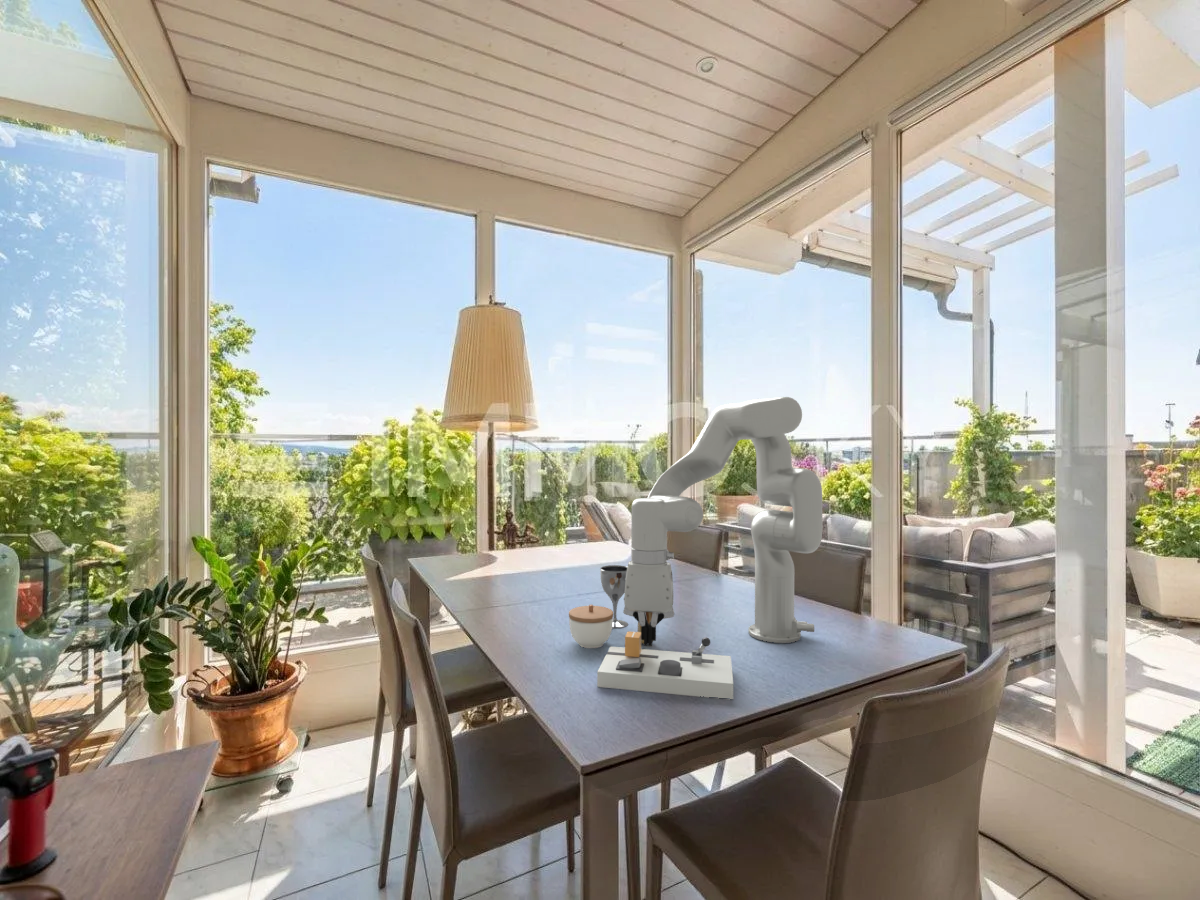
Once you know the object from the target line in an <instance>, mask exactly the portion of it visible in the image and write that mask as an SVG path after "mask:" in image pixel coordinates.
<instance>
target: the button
mask: <svg viewBox="0 0 1200 900" xmlns="http://www.w3.org/2000/svg"><path fill="white" fill-rule="evenodd" d="M660 675H670V676H680V663H679V662H678V661H675V660H663V661H661V662H660Z"/></svg>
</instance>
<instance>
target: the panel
mask: <svg viewBox="0 0 1200 900" xmlns="http://www.w3.org/2000/svg"><path fill="white" fill-rule="evenodd" d="M697 651H698V649H697V650H695V649H692V651H691V652H685V651H684V652H681V651H668V650H659V649H658V650H657V649H644V648H641V653H640V656H639V657H632V656H625V647H621V646H619V647H618V646H609V648H608V650H607V652H606V655H605V656H604V658H603V660H602V662H601V663H600V666H599V668H598V670H597V672H596V673H597V675H596V676H597V677H596V679H597V682H596V683H597V688H606V689H616V690H626V691H637V692H649V693H659V694H668V695H676V696H677V695H678V696H687V697H688V696H690V697H698V698H699V697H700V696H701V697H700V698H709V697H718V698H717V699H719V698H730V699H733V700H734V678H733V677H734V675H733V667H732V666H733V665H732V656H731V655H719V654H708V653H702V654H701V656H695V654H696V652H697ZM663 660H675V661H678V662H679V663H680V676H670V675H660V662H661V661H663ZM703 696H704V697H703ZM730 699H729V700H730Z"/></svg>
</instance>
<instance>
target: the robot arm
mask: <svg viewBox="0 0 1200 900" xmlns="http://www.w3.org/2000/svg"><path fill="white" fill-rule="evenodd" d="M802 410H803V409H802V406H801V405H800V404H799V402H798V401H797V400H796V399H795V398H793V397H789V396H779V397H770V398H757V399H750V400H746V401H743V402H736V403H726V404H723V405H720V406H717V407H716V408H714V410H713V411H712V412H711V414H710V416H709V417H708V418H707V420H706V422H705V424H704V426H703V428H702V429H701V431H700V433H699V434H698V436H697V438H696V439H695V442H694V443H693V445H692V446H691V448H690V450H689V451H688V452H687V453H686V454H685V455H684V456H683V457H681V458H680V459H678V460H677V461H676V462H675V463H674V464H672V465H671V466H670V467H669V468H668V469H666V470H665V471H664V472H663V473H662V474H661V475H660V476H659V477H658V479H657V480H656V482H655V483H654V485H653V486H652V489H651V490H650V491H649V494H648V496H647V497H642V498H641V497H640V498H635V499H634V500H633V502H632V503H631V526H630V527H631V534H630V536H631V538H630V539H631V548H630V549H631V554H630V555H631V556H630V557H631V558H630V559H631V560H629V561H628V563H627V573H626V581H625V593H624V597H623V602H624V607H623V612H622V613H623V614H624V615H627V616H629V617H633V618H634V619H635V620H636V621H637V623H638V622H639V623H640V625H641V640H644V644H643V645H644V646H649V647H652V645H653V643H654V642H655V641H656V640H657V625H658V624H660V622H661V621H662V620H665V619H670V618H674V617H675V610H674V579H673V570H672V565H671V562H668V561H669V560H672V559H675V557H674V555H675V552H674V551H673V552H671V551H669V549H668V546H667V545H668V532H678V533H679V532H680V533H687V532H692V531H693V530H695V529H697V528H698V527H699V526H700V525H701V523H702V521H703V519H704V509H703V507H702V506H701V504H700V503H699V501H697V500H695V499H693V498H691V497H688V496H681V495H682V494H683V492H684V491H686V490H687V489H688V488H690V487H691V486H693V485H695V484H697V483H699V482H702V481H704V480H707V479H710V478H711V477H715V476H716V475H718V474H719V473H721V472H722V471H723V469H724V468H725V466H726V464H727V462H728V460H729V458H730V456H731V455H732V453H733V451H734V449H735V447H736V446H737V445H738V442H739V441H740V440H751V442H752V444H753V447H754V449H755V456H756V457H755V459H756V460H755V461H756V462H755V463H756V492H757V496H758V498H759V500H760V501H761V502H762V503H764V504H767V505H772V506H779V507H781V506H782V507H789V508H792V509H791V510H792V511H787V510H778V509H777V510H776V509H767V510H766V509H764V510H762V511H759V512H758V513H757V514H755V515H754V517H753V518H752V520H751V522H750V523H751V524H750V534H751V538H752V543H753V549H754V550H753V552H754V623H753V624H751V625H749V627H748V634H749V635H750V636H751V637H753V638H754V639H756V640H759V641H762V640H763V642H766V641H767V642H766V643H772V642H774V643H775V644H790V643H791V642H792V643H795V641H796V642H798V641H799V639H800V640H801V635H802V634H801V633H802V632H810V633H814V632H815V624H814V623H808V621H798V619H796V617H795V564H794V560H793V557H792V556H791V554H790V553H791V552H792V553H800V554H812V553H814V552H816V551H817V550H818V549H819V547H820V545H821V542H822V539H823V488H822V483H821V481H820V478H819V477H818V475H817V474H816V472H814V471H812V470H811V469H808V468H801V467H797V468H796V467H793V461H792V448H791V445H790V442H789V439H788V437H786V434H789V433H792V432H794V431H795V430H796V429H798V427H799V426H800V424H801V422H802V418H803V411H802ZM646 612H653V613H652V619H651V621H650V624H649V623H648V621H647V618H646Z"/></svg>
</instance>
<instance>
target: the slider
mask: <svg viewBox="0 0 1200 900" xmlns="http://www.w3.org/2000/svg"><path fill="white" fill-rule="evenodd" d="M624 648H625V656H632V657H639V656H640V653H641V649H642V643H641V632H638V631H627V632H626V634H625V635H624Z"/></svg>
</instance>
